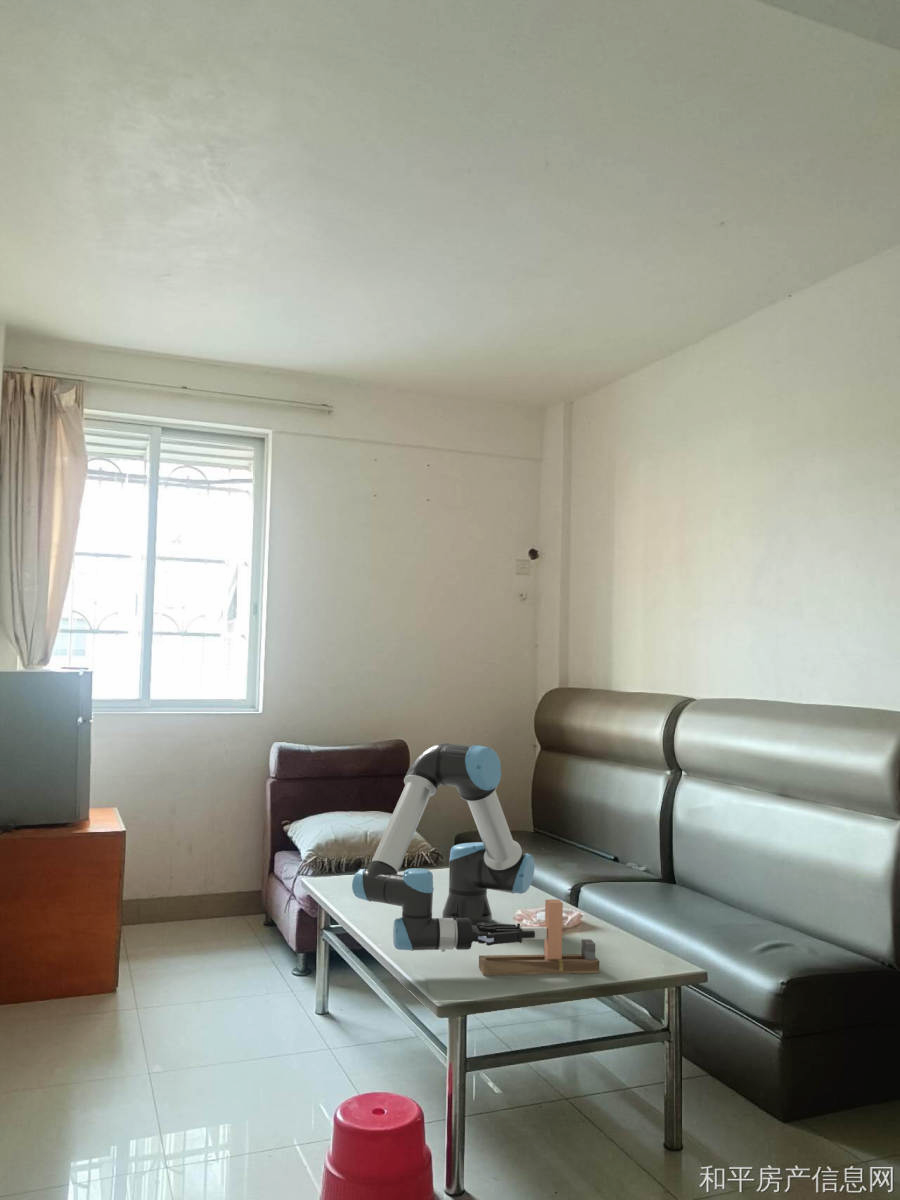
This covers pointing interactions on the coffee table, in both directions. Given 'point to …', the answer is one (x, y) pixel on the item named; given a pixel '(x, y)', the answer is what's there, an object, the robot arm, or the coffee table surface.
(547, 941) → the block
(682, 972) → the coffee table surface
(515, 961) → the beam
